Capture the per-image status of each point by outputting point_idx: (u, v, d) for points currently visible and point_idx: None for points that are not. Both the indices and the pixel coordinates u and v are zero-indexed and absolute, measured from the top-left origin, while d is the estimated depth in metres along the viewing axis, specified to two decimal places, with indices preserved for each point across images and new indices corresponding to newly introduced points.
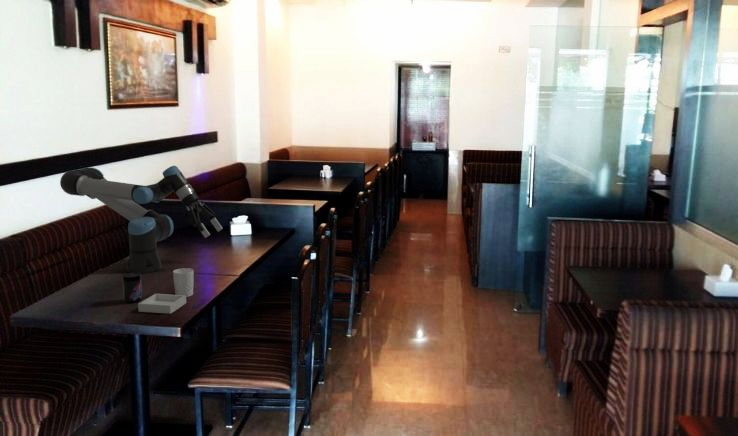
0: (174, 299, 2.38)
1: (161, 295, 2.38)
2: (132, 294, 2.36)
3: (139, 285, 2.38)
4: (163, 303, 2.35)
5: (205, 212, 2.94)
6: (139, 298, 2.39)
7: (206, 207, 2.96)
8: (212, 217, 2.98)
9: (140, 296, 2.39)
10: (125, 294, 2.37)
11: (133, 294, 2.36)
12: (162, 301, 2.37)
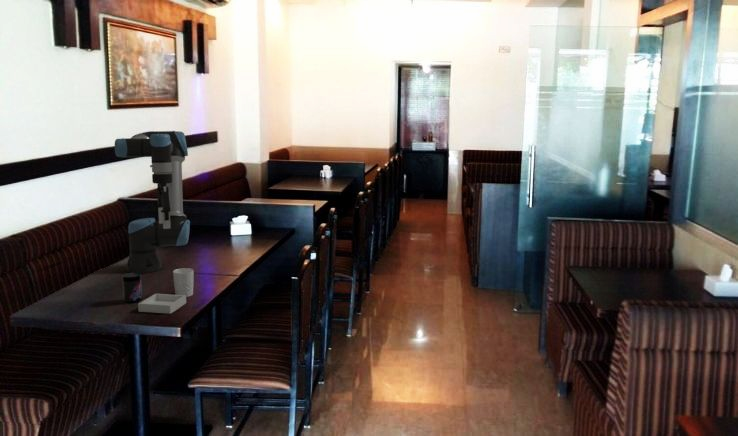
0: (174, 299, 2.38)
1: (161, 295, 2.38)
2: (132, 294, 2.36)
3: (139, 285, 2.38)
4: (163, 303, 2.35)
5: None
6: (139, 298, 2.39)
7: (162, 196, 2.41)
8: None
9: (140, 296, 2.39)
10: (125, 294, 2.37)
11: (133, 294, 2.36)
12: (162, 301, 2.37)
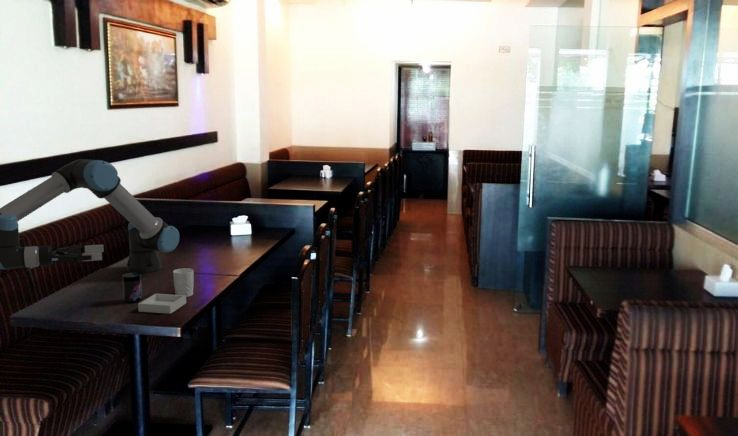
0: (174, 299, 2.38)
1: (161, 295, 2.38)
2: (132, 294, 2.36)
3: (139, 285, 2.38)
4: (163, 303, 2.35)
5: None
6: (139, 298, 2.39)
7: None
8: None
9: (140, 296, 2.39)
10: (125, 294, 2.37)
11: (133, 294, 2.36)
12: (162, 301, 2.37)
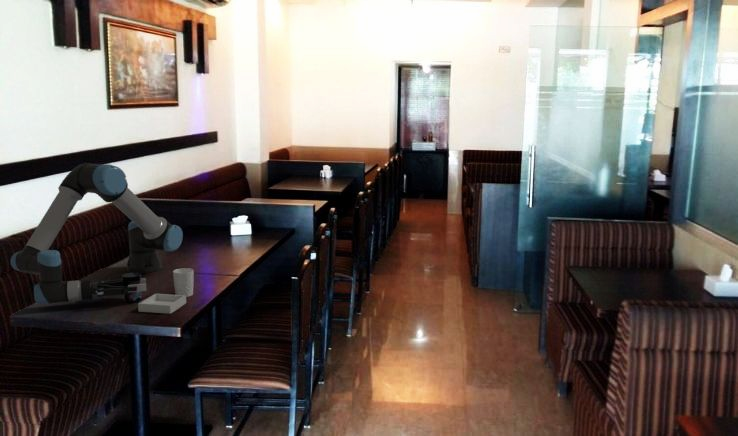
0: (174, 299, 2.38)
1: (161, 295, 2.38)
2: (132, 294, 2.36)
3: None
4: (163, 303, 2.35)
5: None
6: (139, 298, 2.39)
7: None
8: None
9: (140, 296, 2.39)
10: (125, 294, 2.37)
11: (133, 294, 2.36)
12: (162, 301, 2.37)
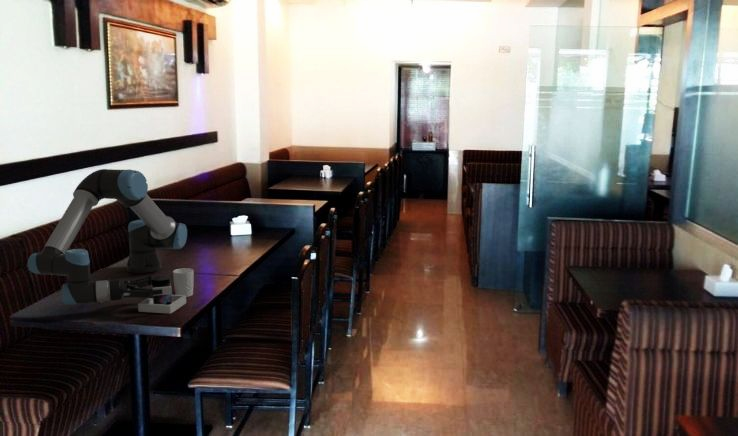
0: (174, 299, 2.38)
1: None
2: (162, 298, 2.29)
3: None
4: None
5: None
6: (169, 302, 2.31)
7: None
8: None
9: (170, 300, 2.32)
10: (154, 298, 2.29)
11: (162, 298, 2.29)
12: None
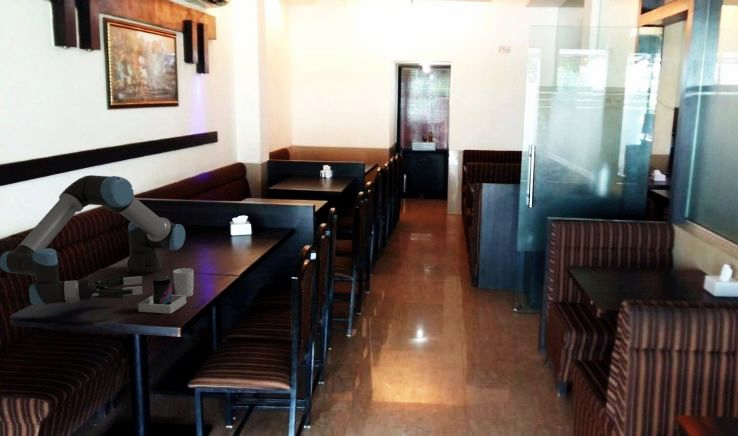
0: (174, 299, 2.38)
1: None
2: (162, 298, 2.29)
3: (169, 289, 2.31)
4: None
5: None
6: (169, 302, 2.31)
7: None
8: None
9: (170, 300, 2.32)
10: (155, 298, 2.29)
11: (163, 298, 2.29)
12: None
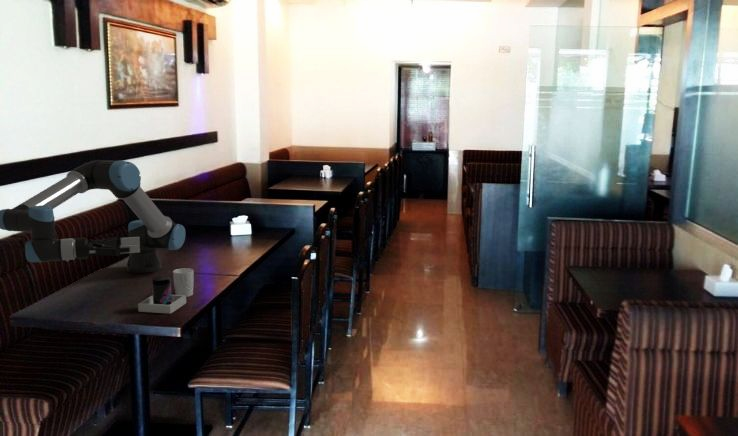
0: (174, 299, 2.38)
1: None
2: (162, 298, 2.29)
3: (169, 289, 2.31)
4: None
5: None
6: (169, 302, 2.31)
7: None
8: None
9: (170, 300, 2.32)
10: (154, 298, 2.29)
11: (163, 298, 2.29)
12: None
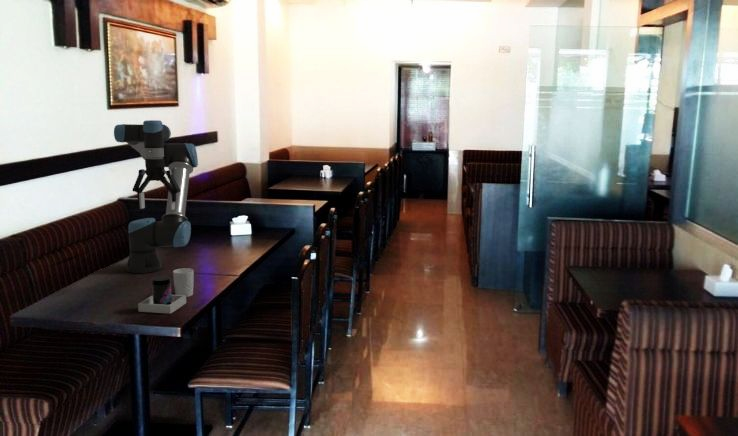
0: (174, 299, 2.38)
1: None
2: (162, 298, 2.29)
3: (169, 289, 2.31)
4: None
5: None
6: (169, 302, 2.31)
7: (169, 179, 2.56)
8: None
9: (170, 300, 2.32)
10: (155, 298, 2.29)
11: (163, 298, 2.29)
12: None
